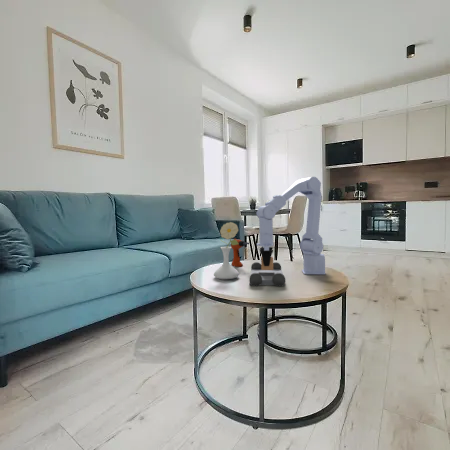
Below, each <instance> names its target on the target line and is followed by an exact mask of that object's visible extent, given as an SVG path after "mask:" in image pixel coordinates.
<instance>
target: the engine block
mask: <svg viewBox="0 0 450 450" xmlns="http://www.w3.org/2000/svg"><path fill="white" fill-rule="evenodd" d="M260 257H261V259H260V264H261V270H273V263H274V257H273V256H271V258H270V264H269V266H264V264H263V258H262V256H260Z"/></svg>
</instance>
